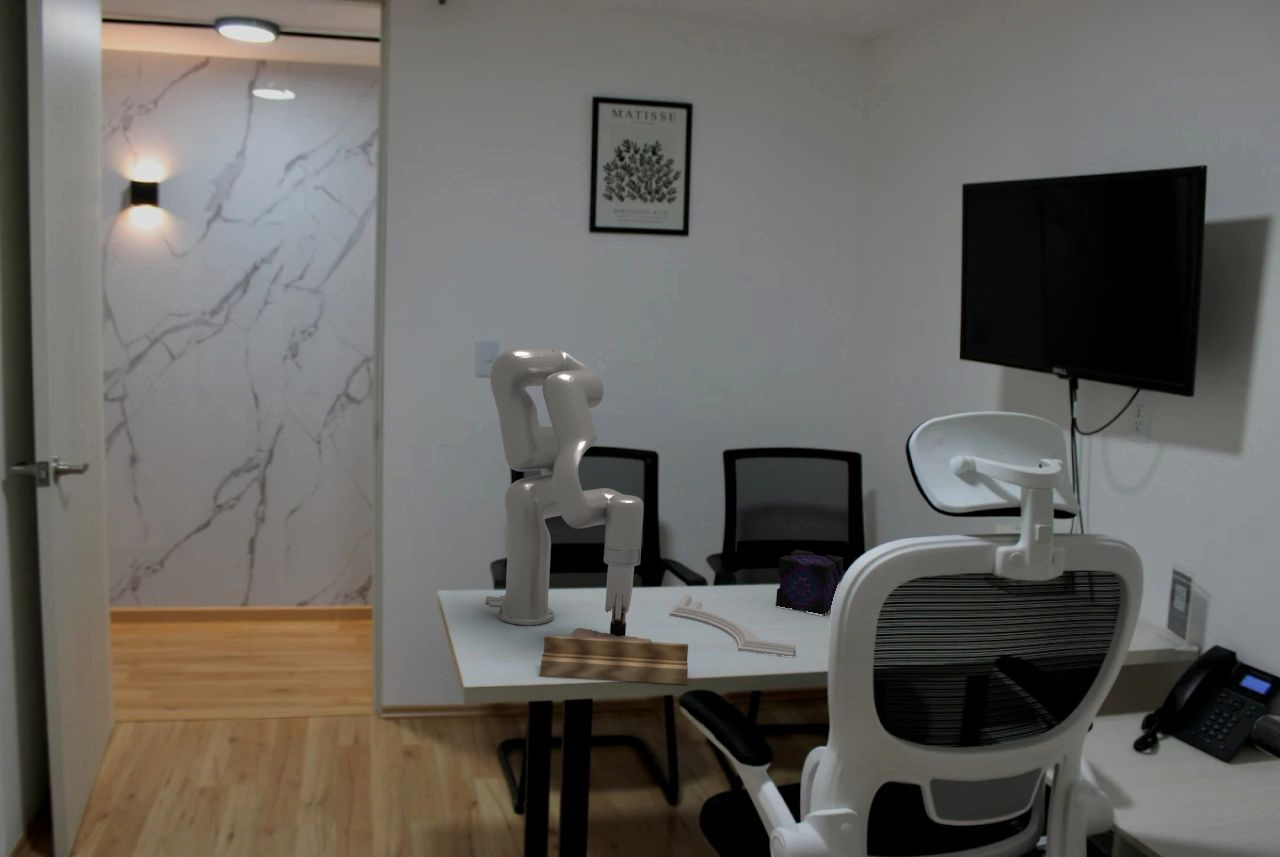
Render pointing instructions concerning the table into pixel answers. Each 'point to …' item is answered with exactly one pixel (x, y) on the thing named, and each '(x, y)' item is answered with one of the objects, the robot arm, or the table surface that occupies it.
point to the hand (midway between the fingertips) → (617, 641)
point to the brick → (602, 635)
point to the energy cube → (808, 581)
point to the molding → (730, 629)
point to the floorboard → (615, 659)
